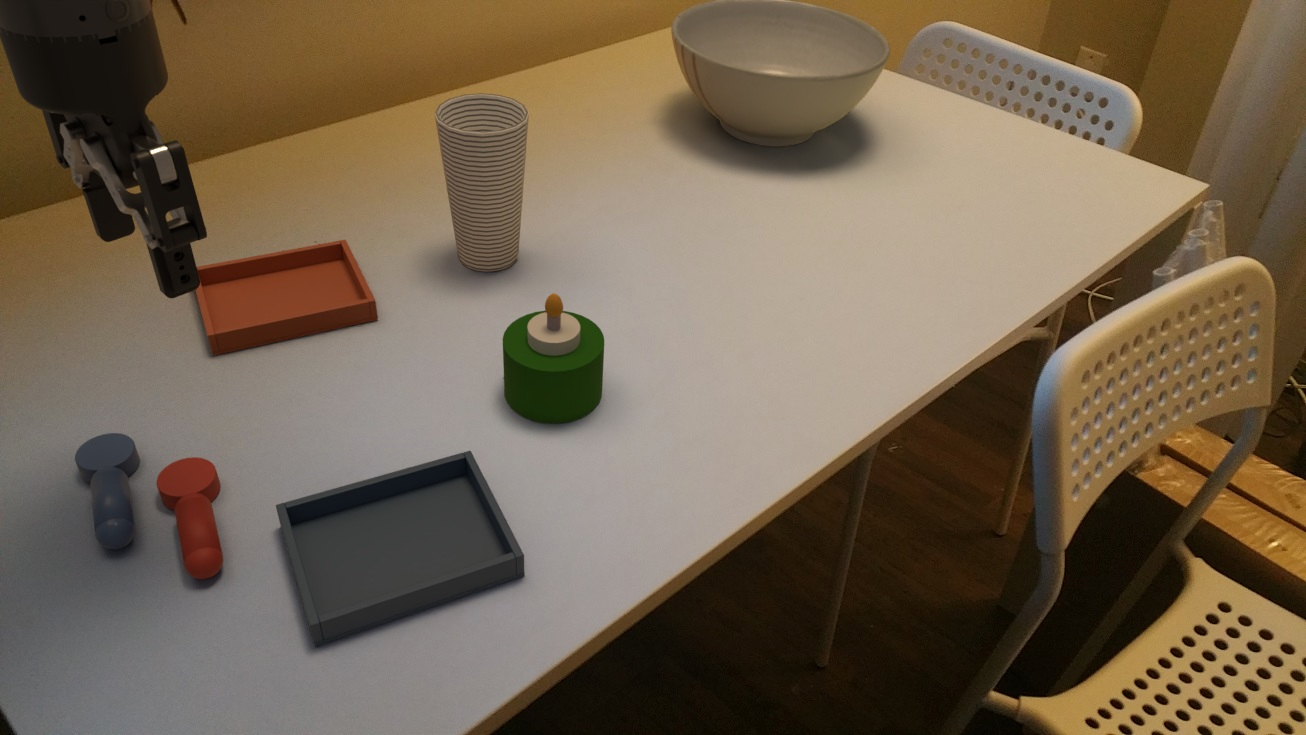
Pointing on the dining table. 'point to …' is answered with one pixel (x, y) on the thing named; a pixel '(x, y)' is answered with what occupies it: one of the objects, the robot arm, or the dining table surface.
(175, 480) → the red spoon
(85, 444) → the blue spoon
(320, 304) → the red tray
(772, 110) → the decorative bowl
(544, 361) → the candle
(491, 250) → the cup
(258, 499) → the dining table surface
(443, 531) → the dark grey tray
